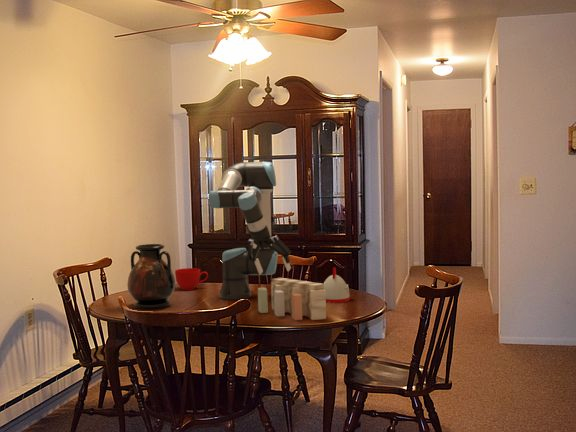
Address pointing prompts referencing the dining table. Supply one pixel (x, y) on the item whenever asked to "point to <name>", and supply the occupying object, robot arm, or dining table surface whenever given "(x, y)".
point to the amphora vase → (151, 277)
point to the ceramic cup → (188, 278)
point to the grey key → (279, 303)
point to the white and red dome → (336, 289)
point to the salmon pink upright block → (296, 306)
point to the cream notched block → (310, 294)
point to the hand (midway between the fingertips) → (275, 271)
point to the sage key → (262, 300)
